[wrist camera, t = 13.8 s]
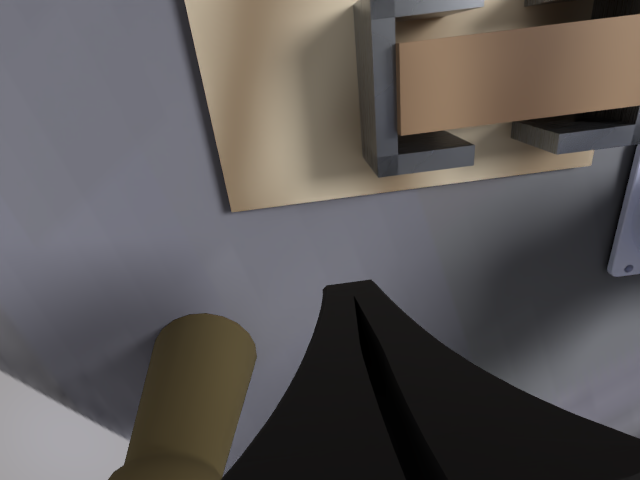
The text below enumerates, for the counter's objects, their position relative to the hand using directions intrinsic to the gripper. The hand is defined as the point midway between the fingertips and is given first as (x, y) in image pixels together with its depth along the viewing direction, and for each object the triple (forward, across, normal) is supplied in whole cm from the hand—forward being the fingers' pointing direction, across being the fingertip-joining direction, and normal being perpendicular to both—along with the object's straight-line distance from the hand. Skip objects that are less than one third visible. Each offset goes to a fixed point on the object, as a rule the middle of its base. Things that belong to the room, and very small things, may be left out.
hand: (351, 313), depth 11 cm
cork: (+10, +8, +9) cm, 16 cm away
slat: (+9, -7, -5) cm, 13 cm away
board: (+10, -4, -5) cm, 12 cm away
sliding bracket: (+9, -4, -5) cm, 11 cm away
